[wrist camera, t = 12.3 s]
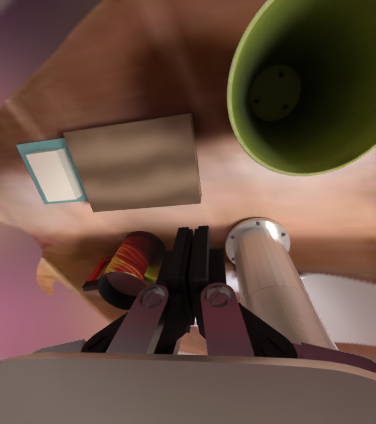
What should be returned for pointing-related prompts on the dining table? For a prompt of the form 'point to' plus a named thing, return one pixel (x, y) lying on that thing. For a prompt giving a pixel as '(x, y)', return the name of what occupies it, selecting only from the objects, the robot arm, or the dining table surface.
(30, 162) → the cream rectangular block
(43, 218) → the dining table surface
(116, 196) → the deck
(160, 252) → the mug
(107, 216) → the dining table surface
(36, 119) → the dining table surface
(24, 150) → the mat
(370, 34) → the flower pot
